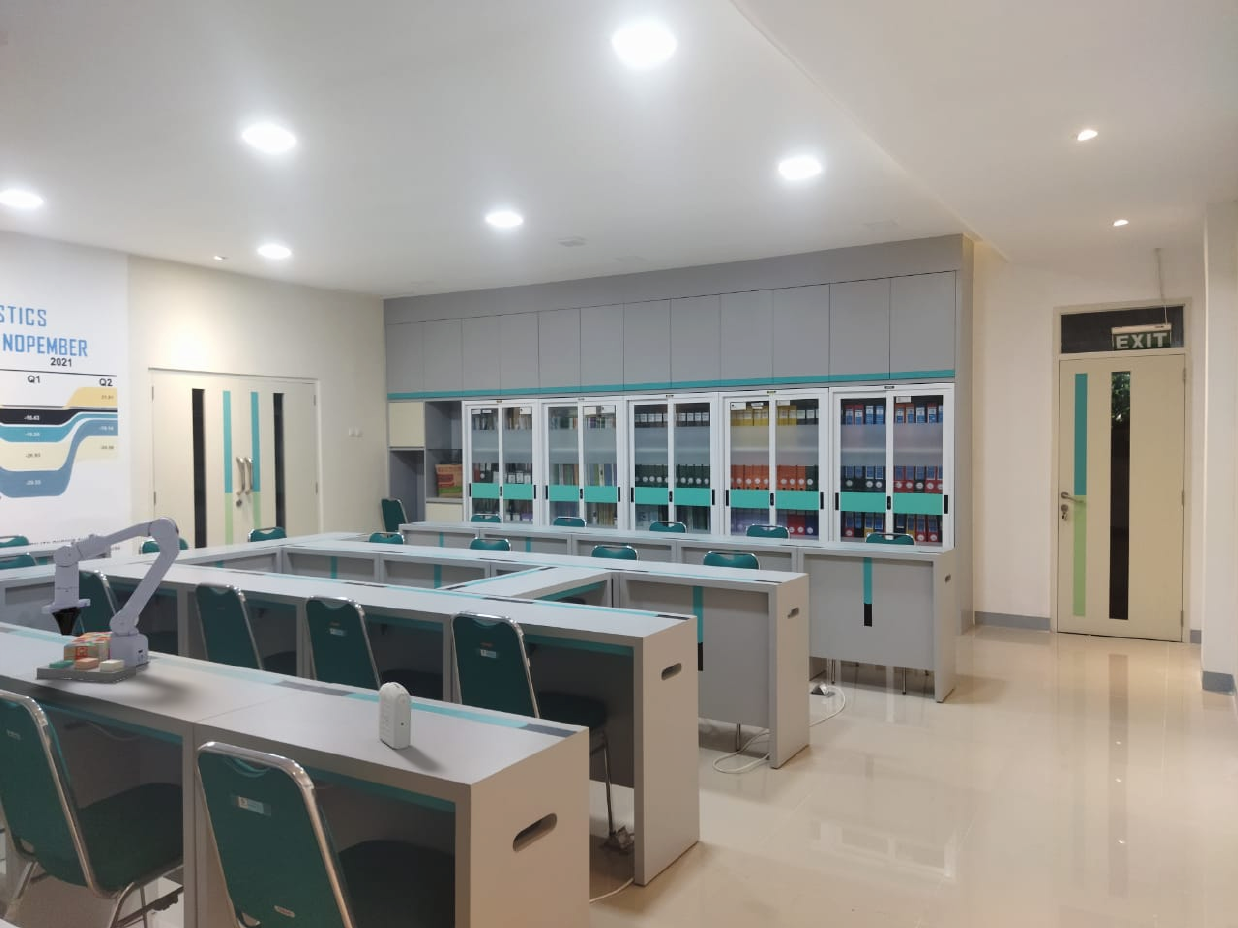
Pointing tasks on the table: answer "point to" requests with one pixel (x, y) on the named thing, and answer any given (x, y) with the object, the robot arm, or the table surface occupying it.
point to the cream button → (111, 665)
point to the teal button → (61, 664)
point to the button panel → (86, 673)
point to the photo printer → (395, 715)
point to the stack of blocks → (89, 647)
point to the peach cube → (86, 663)
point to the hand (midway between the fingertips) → (66, 635)
